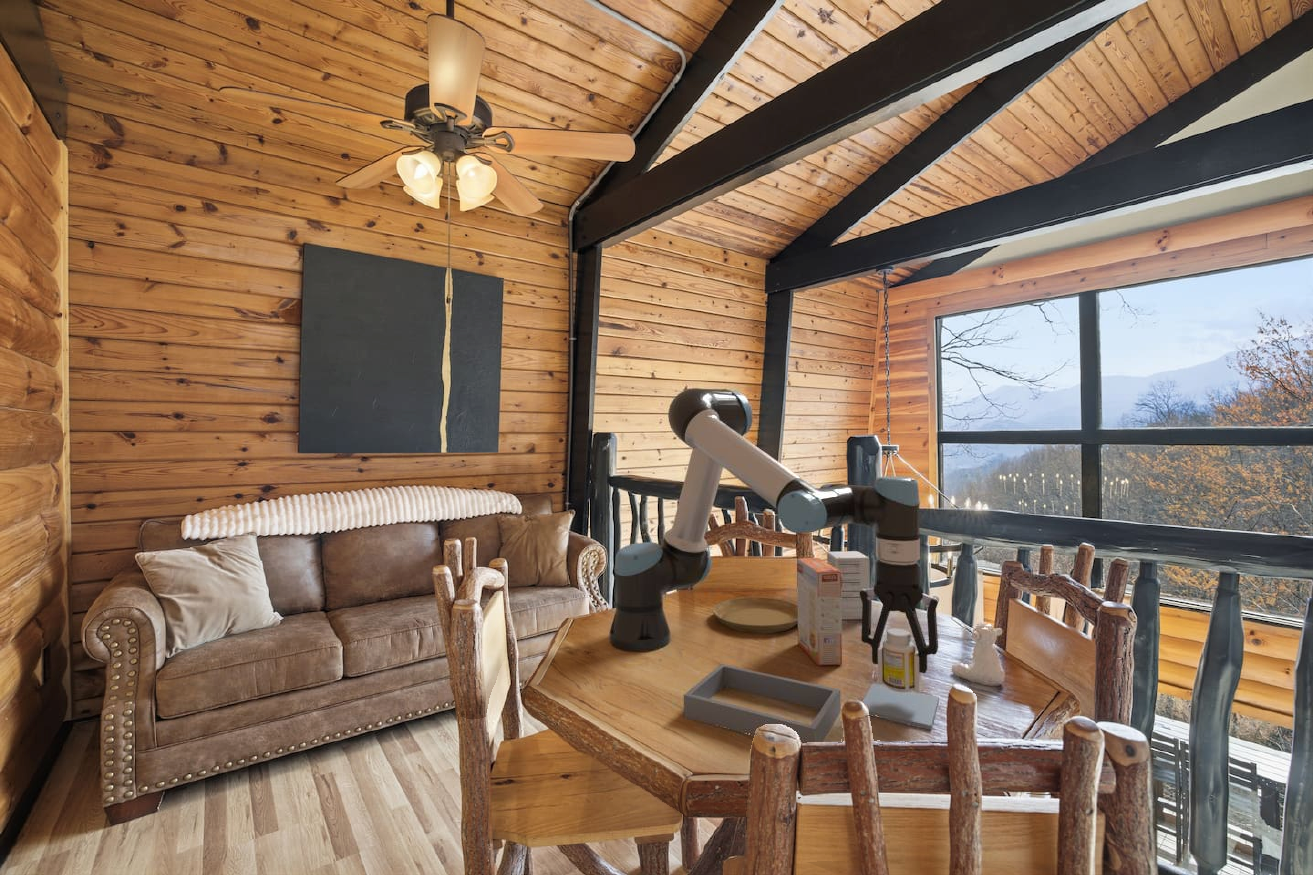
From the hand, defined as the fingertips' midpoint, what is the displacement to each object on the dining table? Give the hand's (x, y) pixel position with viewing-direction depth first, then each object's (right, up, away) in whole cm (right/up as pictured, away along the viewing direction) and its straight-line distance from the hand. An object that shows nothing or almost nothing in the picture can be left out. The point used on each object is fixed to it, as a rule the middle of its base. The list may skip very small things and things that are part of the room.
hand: (899, 684), depth 107 cm
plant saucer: (-17, -4, +50) cm, 53 cm away
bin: (-26, -5, -2) cm, 26 cm away
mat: (0, -4, 0) cm, 4 cm away
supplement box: (+9, -4, +54) cm, 54 cm away
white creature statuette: (+22, -4, +11) cm, 25 cm away
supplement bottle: (0, -1, 0) cm, 1 cm away
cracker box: (-7, -4, +26) cm, 27 cm away
